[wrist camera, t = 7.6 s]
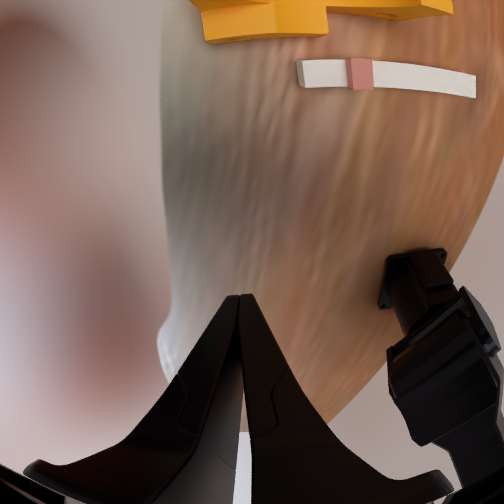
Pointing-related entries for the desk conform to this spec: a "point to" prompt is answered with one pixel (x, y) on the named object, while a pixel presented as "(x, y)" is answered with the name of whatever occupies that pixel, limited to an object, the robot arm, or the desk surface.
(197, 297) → the desk surface
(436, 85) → the guide channel
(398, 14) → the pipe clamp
